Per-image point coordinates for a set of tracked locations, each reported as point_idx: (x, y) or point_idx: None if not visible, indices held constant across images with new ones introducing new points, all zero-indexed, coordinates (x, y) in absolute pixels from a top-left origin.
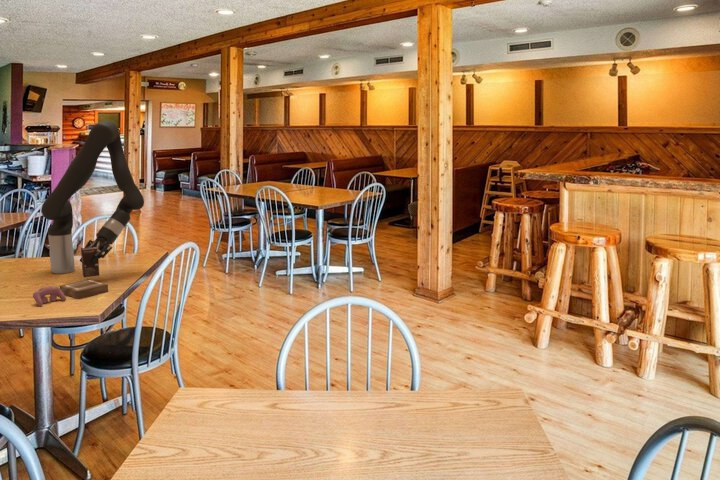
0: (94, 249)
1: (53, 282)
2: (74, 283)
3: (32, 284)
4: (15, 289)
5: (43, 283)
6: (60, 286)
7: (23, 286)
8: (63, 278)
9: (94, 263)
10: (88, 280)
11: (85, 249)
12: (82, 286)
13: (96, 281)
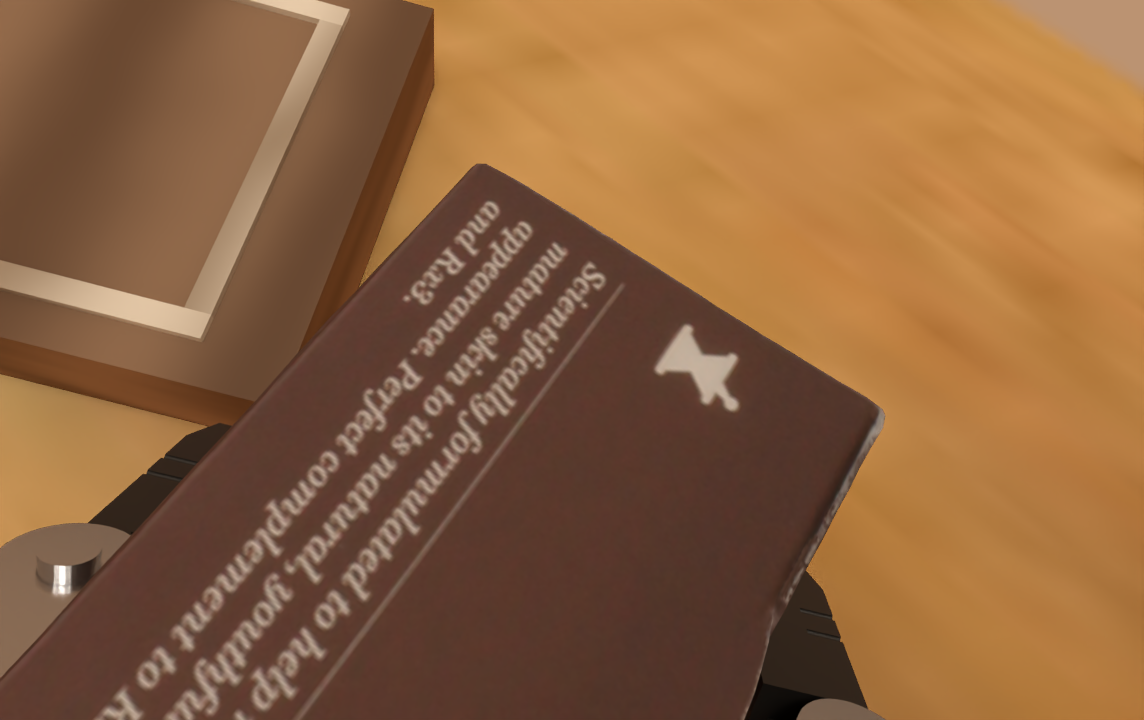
0: (87, 593)
1: (970, 430)
2: (298, 120)
3: (1085, 270)
4: (1021, 76)
5: (1026, 347)
6: (407, 4)
7: (1076, 179)
8: (1075, 667)
9: None
10: (198, 316)
11: (443, 271)
12: (64, 52)
13: (18, 335)
